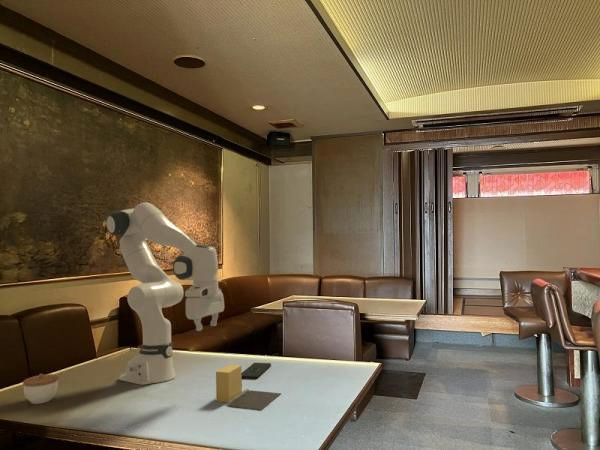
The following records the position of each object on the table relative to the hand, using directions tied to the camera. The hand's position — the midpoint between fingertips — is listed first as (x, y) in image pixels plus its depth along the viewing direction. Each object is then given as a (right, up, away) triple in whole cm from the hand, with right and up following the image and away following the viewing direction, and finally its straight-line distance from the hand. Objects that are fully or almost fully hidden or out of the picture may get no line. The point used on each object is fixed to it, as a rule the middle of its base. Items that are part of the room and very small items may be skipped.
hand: (206, 328), depth 158 cm
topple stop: (+17, -23, -8) cm, 30 cm away
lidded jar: (-58, -25, -3) cm, 63 cm away
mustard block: (+9, -23, -4) cm, 25 cm away
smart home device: (+15, -25, +26) cm, 39 cm away
